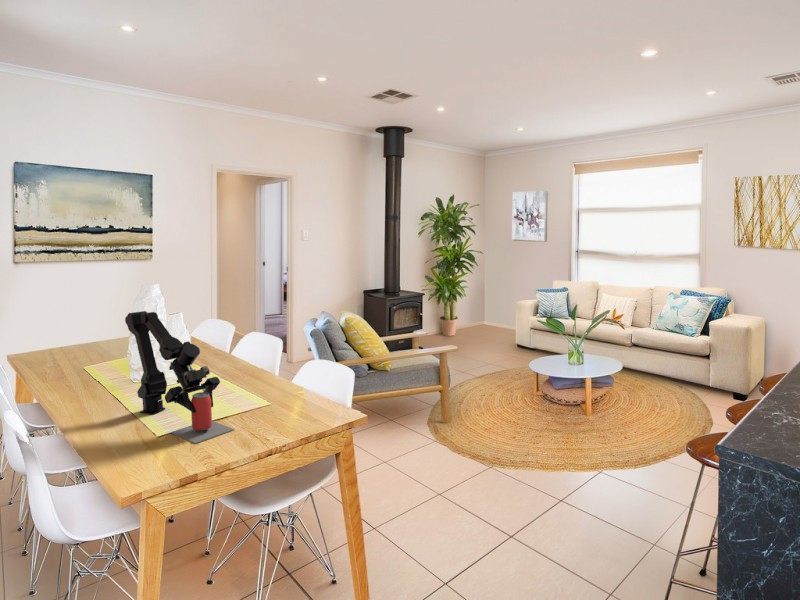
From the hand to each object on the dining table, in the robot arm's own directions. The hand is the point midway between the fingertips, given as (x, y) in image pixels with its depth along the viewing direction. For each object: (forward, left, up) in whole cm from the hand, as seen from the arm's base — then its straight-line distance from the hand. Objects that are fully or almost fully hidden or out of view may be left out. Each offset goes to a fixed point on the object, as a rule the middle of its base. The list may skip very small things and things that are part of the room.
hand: (203, 409), depth 179 cm
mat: (-1, 0, -8) cm, 8 cm away
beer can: (-1, 0, -7) cm, 7 cm away
